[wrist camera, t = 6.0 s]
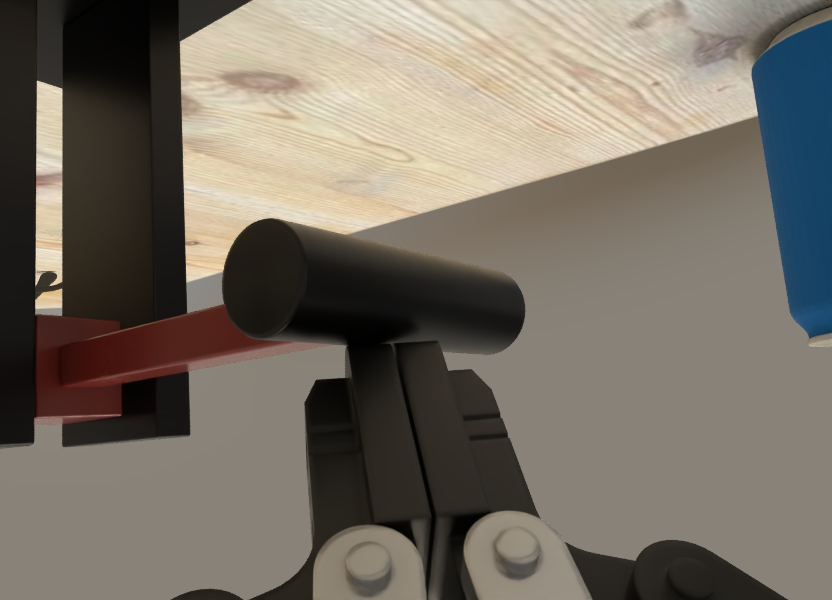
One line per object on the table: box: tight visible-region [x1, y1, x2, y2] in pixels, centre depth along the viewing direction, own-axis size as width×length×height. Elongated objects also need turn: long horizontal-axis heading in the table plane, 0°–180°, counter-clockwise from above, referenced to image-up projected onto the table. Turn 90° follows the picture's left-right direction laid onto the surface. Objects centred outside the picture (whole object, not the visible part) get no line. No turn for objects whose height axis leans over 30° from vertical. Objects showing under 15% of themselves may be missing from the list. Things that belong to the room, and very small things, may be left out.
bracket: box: [0, 0, 252, 449], centre depth 20 cm, size 12×9×14 cm
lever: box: [34, 218, 525, 425], centre depth 16 cm, size 13×6×2 cm, turn 127°
